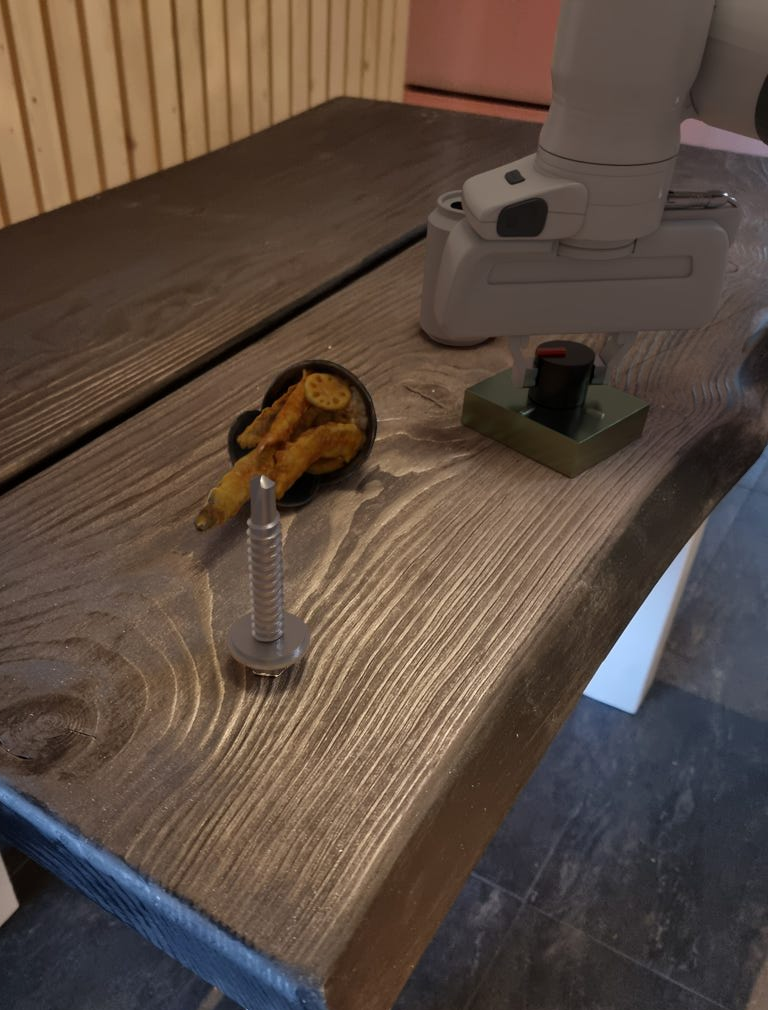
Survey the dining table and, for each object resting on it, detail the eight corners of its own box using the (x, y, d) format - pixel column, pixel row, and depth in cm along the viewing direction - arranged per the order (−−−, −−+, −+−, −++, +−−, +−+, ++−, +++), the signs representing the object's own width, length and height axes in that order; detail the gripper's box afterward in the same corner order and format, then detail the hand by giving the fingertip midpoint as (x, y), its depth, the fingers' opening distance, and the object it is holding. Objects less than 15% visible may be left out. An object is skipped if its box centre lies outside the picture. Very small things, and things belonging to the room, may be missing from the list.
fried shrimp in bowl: (417, 393, 69) (351, 436, 53) (344, 512, 74) (266, 583, 59) (315, 327, 70) (221, 350, 54) (251, 450, 75) (148, 503, 59)
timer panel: (641, 437, 73) (651, 400, 71) (571, 478, 69) (579, 441, 66) (531, 387, 79) (537, 352, 77) (460, 422, 75) (464, 387, 73)
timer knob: (577, 381, 73) (587, 335, 71) (592, 408, 70) (603, 361, 68) (522, 382, 73) (530, 336, 71) (535, 409, 70) (543, 362, 68)
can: (411, 318, 90) (422, 186, 82) (487, 314, 90) (505, 183, 82) (426, 352, 84) (439, 214, 76) (507, 348, 85) (528, 210, 77)
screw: (303, 696, 52) (220, 687, 53) (315, 639, 56) (237, 631, 57) (302, 505, 44) (203, 497, 44) (317, 452, 47) (225, 445, 48)
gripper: (730, 173, 64) (676, 359, 74) (440, 182, 64) (422, 369, 73) (770, 203, 60) (707, 398, 69) (458, 213, 59) (436, 408, 68)
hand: (558, 383), depth 71 cm, fingers closed on timer knob, 4 cm apart
